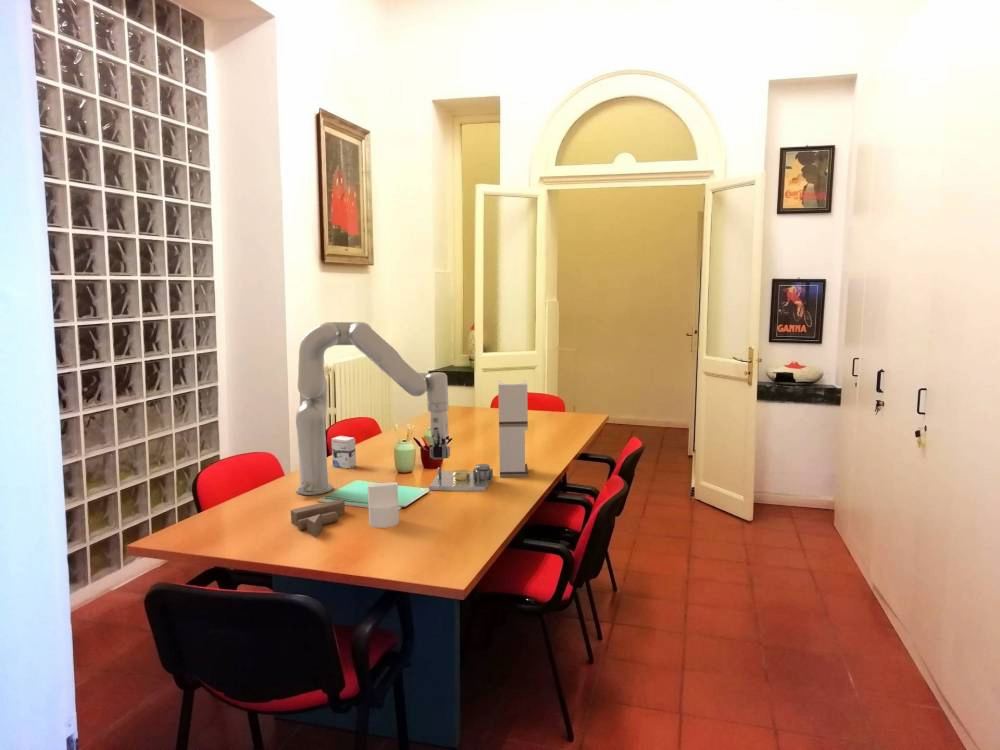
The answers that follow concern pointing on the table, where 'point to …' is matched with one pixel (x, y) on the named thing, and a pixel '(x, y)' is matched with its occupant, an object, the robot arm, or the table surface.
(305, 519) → the wooden block set
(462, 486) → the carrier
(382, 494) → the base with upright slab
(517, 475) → the grey tall pillar
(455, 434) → the table surface
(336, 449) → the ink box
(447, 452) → the planet gear
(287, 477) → the table surface
